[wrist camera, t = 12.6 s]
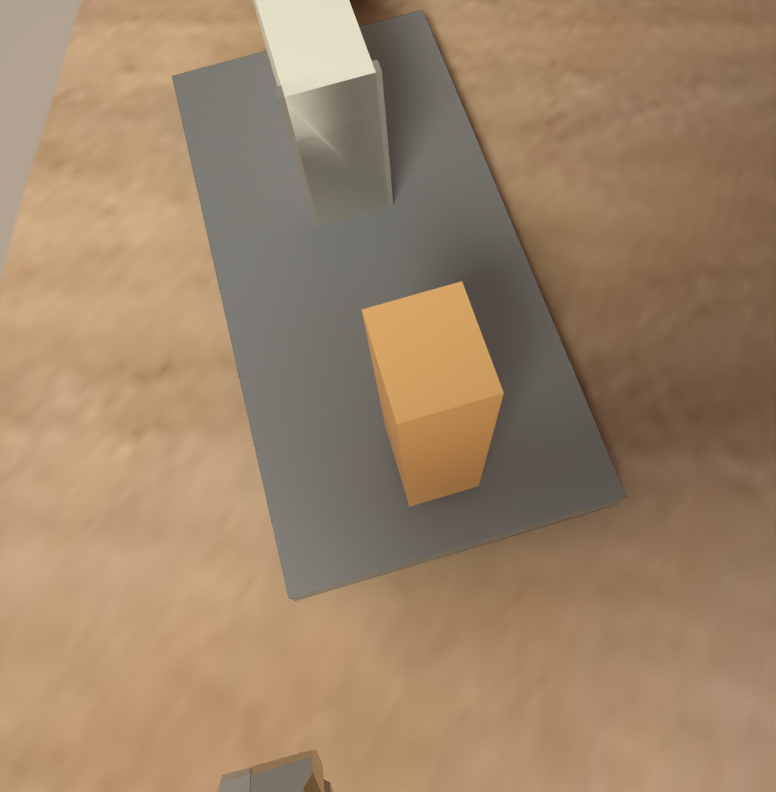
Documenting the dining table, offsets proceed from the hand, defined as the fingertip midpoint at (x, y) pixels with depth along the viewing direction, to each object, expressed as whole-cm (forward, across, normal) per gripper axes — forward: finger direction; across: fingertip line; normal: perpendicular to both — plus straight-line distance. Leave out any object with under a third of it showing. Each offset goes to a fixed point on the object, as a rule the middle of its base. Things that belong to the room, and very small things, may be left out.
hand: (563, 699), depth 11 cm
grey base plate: (+21, 0, -2) cm, 21 cm away
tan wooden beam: (+13, 0, +3) cm, 14 cm away
